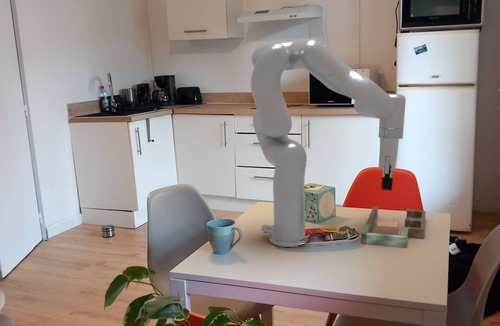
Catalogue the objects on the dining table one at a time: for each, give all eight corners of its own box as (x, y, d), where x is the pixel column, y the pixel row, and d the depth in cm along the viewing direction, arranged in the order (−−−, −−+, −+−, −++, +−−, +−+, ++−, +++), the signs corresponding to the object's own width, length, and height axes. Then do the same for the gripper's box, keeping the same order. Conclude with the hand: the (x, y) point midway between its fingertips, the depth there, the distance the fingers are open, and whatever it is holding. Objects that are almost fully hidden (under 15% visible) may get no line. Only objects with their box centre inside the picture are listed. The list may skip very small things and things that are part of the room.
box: (361, 243, 147) (361, 233, 146) (373, 214, 174) (373, 206, 174) (422, 249, 141) (423, 239, 140) (425, 218, 168) (425, 210, 167)
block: (376, 241, 149) (376, 225, 148) (377, 233, 155) (378, 218, 154) (396, 242, 147) (397, 227, 146) (397, 235, 153) (397, 220, 152)
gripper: (381, 130, 163) (377, 183, 166) (376, 134, 149) (372, 193, 153) (404, 131, 161) (400, 185, 164) (401, 136, 147) (397, 195, 150)
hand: (386, 189), depth 158 cm, fingers closed
